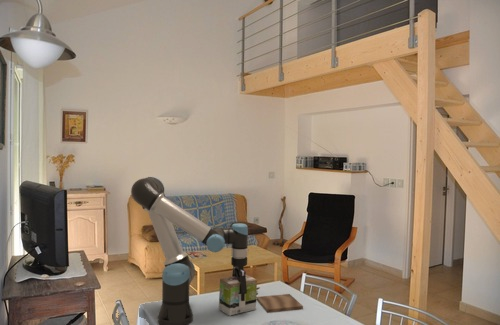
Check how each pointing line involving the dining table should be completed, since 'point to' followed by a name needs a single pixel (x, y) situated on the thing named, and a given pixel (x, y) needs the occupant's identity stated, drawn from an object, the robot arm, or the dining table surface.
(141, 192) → the robot arm
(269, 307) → the walnut board
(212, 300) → the dining table surface
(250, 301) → the tea box
